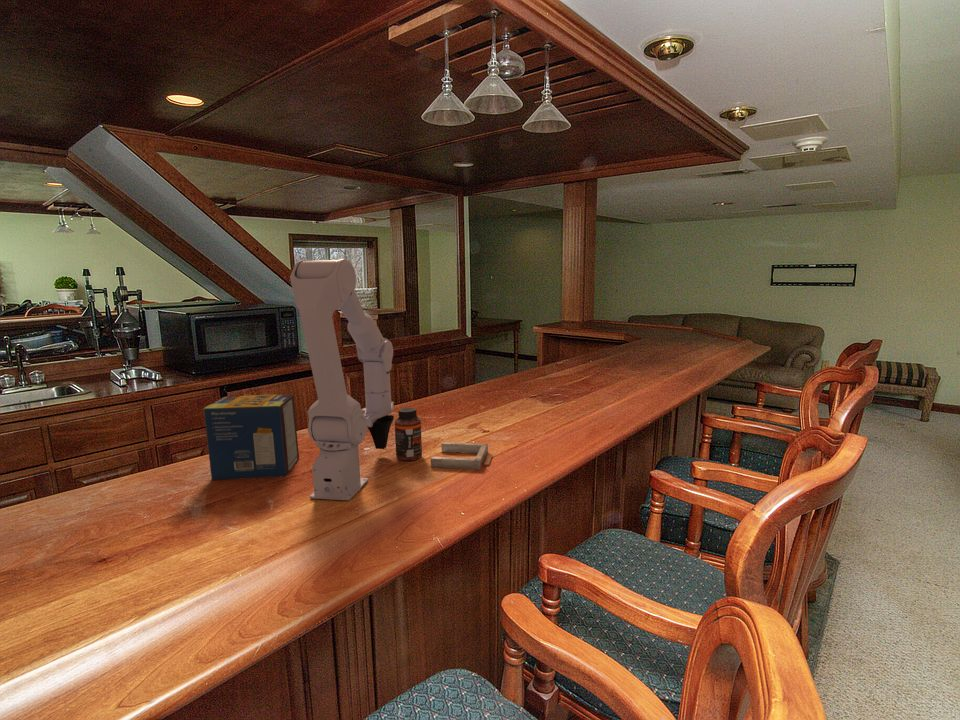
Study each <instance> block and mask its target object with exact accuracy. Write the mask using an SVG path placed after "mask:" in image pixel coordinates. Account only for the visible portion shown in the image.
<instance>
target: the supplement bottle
mask: <svg viewBox="0 0 960 720" xmlns="http://www.w3.org/2000/svg"><path fill="white" fill-rule="evenodd" d="M417 414H418V413H417V409H416V408H415V407H402V408H399V409H398V417H397V418H396V419H395V420H394V440H395V457H396V459H398V460H399V461H400V460H401V461H403V462H411V461H416V460H418V459H420V458H421V457H422V455H423V451H422V450H423V447H422V445H423V444H422V442H423V441H422V420H421V419H420V418H419V417H418V415H417Z"/></svg>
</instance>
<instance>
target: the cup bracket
mask: <svg viewBox="0 0 960 720" xmlns="http://www.w3.org/2000/svg"><path fill="white" fill-rule="evenodd" d="M440 445H441V453H456V452H465V453H464V454H476V456H475V457H469V458H468V457H448V456H431V457H430V468H434V467H444V468H443V469H455V468H459V469H460V470H461V469H462V470H479V471H480V470H481V468H482V466H488V467H489V466H490V464H491V462H492V459H493V456H494V455H493V454H488V453H489V451H488V450H489V446H488V445H489V444H488V443H479V442H477V443H474V442H472V443H471V442H454V441H453V442H451V441H442V442H441V444H440Z"/></svg>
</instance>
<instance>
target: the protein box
mask: <svg viewBox="0 0 960 720" xmlns="http://www.w3.org/2000/svg"><path fill="white" fill-rule="evenodd" d="M202 410H203V415H204V424H205V433H206V440H207V442H206V443H207V451H208V459H209V467H210V477H211V481H218V480H221V481H222V480H238V479H239V480H240V478H243V479H257V478H258V479H259V478H260V477H262V478H279V477H280V476H282V477H286V476H287V475H288V474H289V473H290V472H291V470H292V469H293V468H294V466H295V465H296V464H297V462H298V460H300V453H299V443H298V432H297V421H296V411H295V399H294V394H293V393H282V394H281V393H280V394H260V395H259V394H254V395H235V396H234V395H231V396H229V395H228V396H222V397H221V398H219V399H217V400H216V401H214V402H213V403H211V404H209V405H207V406H205V407H204V408H203V409H202Z"/></svg>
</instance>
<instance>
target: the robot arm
mask: <svg viewBox="0 0 960 720" xmlns="http://www.w3.org/2000/svg"><path fill="white" fill-rule="evenodd" d="M289 279H290V283H291V289H292V293H293V298H294V302H295V306H296V308H297V309H298V312H299V319H300V322H301V326H302V331H303V335H304V339H305V343H306V344H305V345H306V350H307V353H308V359H309V363H310V368H311V372H312V377H313V381H314V382H313V383H314V387H315V391H316V395H317V400H316V401H315V402H313V403H312V405H311V406H310V407H309V408H308V410H307V417H308V423H307V433H308V435H309V438H310V439H311V440H312V442H314V443H315V447H316V448H319V453H318V456H317V457H316V458H315V460H314V461H313V464H312V466H311V467H312V469H311V470H312V481H313V482H312V483H313V492H312V493H311V494H310V495H309V499H317V500H320V499H321V500H334V501H335V500H336V501H337V500H338V501H350V500H351V499H352V498H354V496H355V495H356V494H357V493H358V492H359V491H360V490H361V488H363V487H364V486H365V485H366V484H367V483H368V482H369V478H368V477H361V467H360V450H359V445H360V444H361V443H362V442H363V441H364V439H365V438H366V434H367V432H368V431H369V433H370V435H371V438H372V441H373V443H374V444H373V445H374V447H375V450H385V449H386V448H387V445H388V438H389V433H390V429H391V426H392V424H393V422H394V421H395V420H394V419H395V417H394V415H392V413H393V411H394V410H395V405H394V404H395V403H394V401H392V393H391V392H392V389H391V373H390V372H391V370H392V368H393V363H392V362H393V358H394V347H393V344H392V341H390V340H388V338H387V337H383V334H382V333H381V331H380V329H379V327H378V325H377V323H376V321H375V320H374V318H373V316H372V315H370V314H368V313H365V311H364V309H363V306H362V304H361V301H360V299H359V297H358V294H357V292H356V285H357V274H356V272H355V267H354V265H353V264H352V262H350V260H348V259H347V258H341V259H325V260H324V259H321V260H319V259H317V260H307V259H306V260H305V259H300V260H297V262H296V263H295V264H294V265H293V269H292V271H291V273H290V276H289ZM338 310H340V312H341V313H342V314H343V317H345V318H346V320H347V321H348V323H347V326H346V328H347V332H348V333H349V335H350V336H351V338H352V339H353V341H354V343H355V349H356V354H357V359H358V361H360V363H362V365H363V378H364V379H363V380H364V398H365V407H364V408H362V407H361V406H362V405H361V403H360V402H359V401H357V400H356V399H355V398H353V397H352V396H351V395H349V394H348V393H347V392H348V391H347V388H346V387H347V386H346V382H345V377H344V372H343V366H342V361H341V356H340V351H339V346H338V339H337V335H336V330H335V329H336V328H335V325H334V324H335V323H334V320H333V314H334V313H335V311H338ZM367 430H368V431H367Z"/></svg>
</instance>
